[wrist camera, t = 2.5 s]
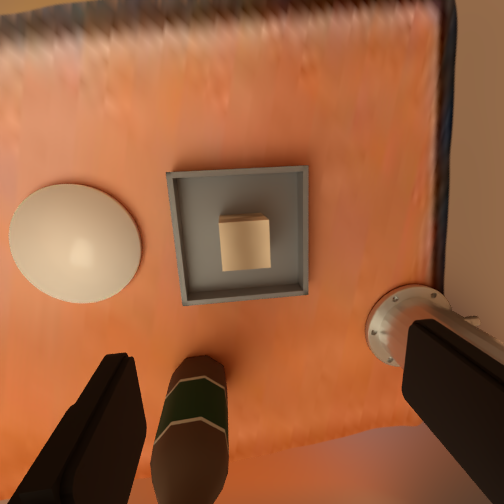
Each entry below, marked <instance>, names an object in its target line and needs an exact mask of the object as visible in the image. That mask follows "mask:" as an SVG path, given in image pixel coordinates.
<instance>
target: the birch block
mask: <svg viewBox="0 0 504 504" xmlns="http://www.w3.org/2000/svg"><path fill="white" fill-rule="evenodd" d="M219 234H220V246H221V258H222V270H223V271H234V270H247V269H259V268H271V260H270V232H269V219H268V218H267V217H265V216H264V215H263V214H262V213H248V214H233V215H219Z"/></svg>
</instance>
